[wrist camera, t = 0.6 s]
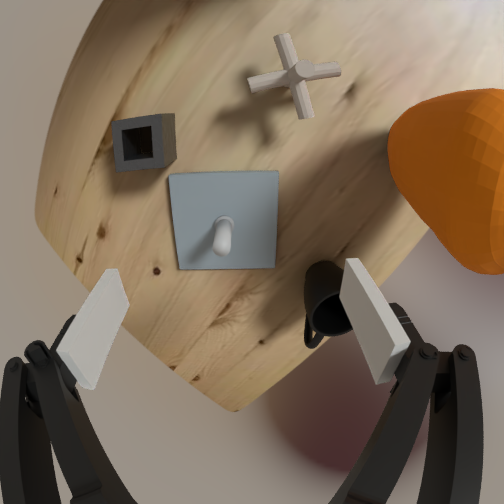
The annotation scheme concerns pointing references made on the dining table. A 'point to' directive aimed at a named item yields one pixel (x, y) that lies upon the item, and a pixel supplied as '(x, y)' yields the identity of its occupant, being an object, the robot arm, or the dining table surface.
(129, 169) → the collar
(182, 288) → the dining table surface
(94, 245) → the dining table surface
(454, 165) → the orange egg-shaped ornament
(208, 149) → the dining table surface
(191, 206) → the post block
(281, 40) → the light grey toy jack
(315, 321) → the mug
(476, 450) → the robot arm
